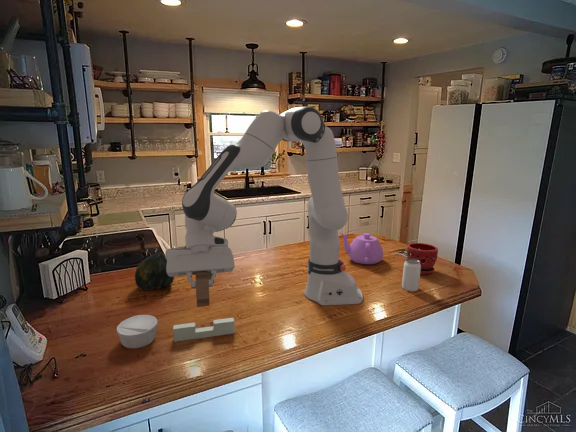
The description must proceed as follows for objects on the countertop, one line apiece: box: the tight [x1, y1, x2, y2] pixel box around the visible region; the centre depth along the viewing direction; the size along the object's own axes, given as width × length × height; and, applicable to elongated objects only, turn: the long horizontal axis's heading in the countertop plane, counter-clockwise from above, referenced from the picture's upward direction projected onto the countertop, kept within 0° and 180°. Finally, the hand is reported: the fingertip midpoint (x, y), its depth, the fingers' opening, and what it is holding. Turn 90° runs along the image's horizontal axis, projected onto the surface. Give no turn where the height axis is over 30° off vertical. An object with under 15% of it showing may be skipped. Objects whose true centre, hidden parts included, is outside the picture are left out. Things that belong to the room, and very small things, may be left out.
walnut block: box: [195, 271, 210, 308], centre depth 102 cm, size 7×4×8 cm, turn 16°
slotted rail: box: [172, 317, 236, 343], centre depth 105 cm, size 18×2×4 cm, turn 106°
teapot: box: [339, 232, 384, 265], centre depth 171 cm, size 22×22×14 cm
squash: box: [134, 252, 175, 291], centre depth 137 cm, size 14×15×15 cm
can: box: [401, 258, 421, 292], centre depth 140 cm, size 6×6×12 cm
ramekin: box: [116, 314, 159, 349], centre depth 103 cm, size 11×11×5 cm
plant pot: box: [406, 242, 439, 275], centre depth 158 cm, size 13×13×12 cm
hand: (202, 286), depth 103 cm, fingers closed on walnut block, 3 cm apart
